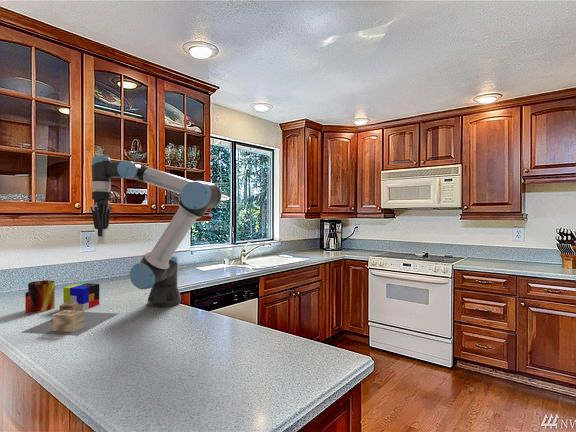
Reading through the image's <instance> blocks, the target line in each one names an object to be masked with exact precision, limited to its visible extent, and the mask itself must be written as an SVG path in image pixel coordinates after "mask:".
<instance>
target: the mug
mask: <svg viewBox="0 0 576 432" xmlns="http://www.w3.org/2000/svg"><path fill="white" fill-rule="evenodd" d="M55 287H56V286H55V280H53V279H52V280H51V279H50V280H49V279H46V280H36V281H31V282H28V284H27V290H28V291H26V292H25V299H24V301H25V309H24V312H25V313H24V314H26V315H27V314H28V315H29V314H30V313H40V312H41V313H42V312H47V311H51V310H53V309H55V307H56V305H55V300H56V299H55V298H56V297H55V296H56V295H55V293H56V292H55V290H56V289H55Z"/></svg>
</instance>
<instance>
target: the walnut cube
mask: <svg viewBox="0 0 576 432" xmlns="http://www.w3.org/2000/svg"><path fill="white" fill-rule="evenodd" d="M58 308H59V312H61V311H63V310H75V311H79V310H78V302H65V303H64V302H62V304H60V305H59V307H58Z"/></svg>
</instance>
